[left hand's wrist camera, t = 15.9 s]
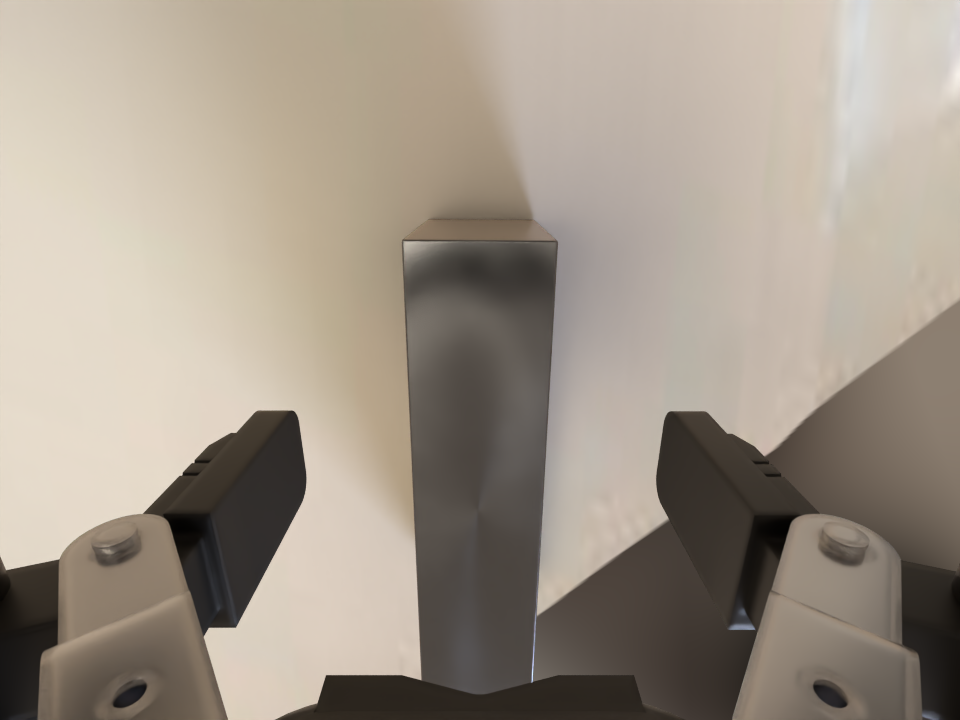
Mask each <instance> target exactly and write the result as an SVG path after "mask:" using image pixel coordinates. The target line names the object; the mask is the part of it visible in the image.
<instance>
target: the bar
mask: <svg viewBox="0 0 960 720" xmlns="http://www.w3.org/2000/svg"><path fill="white" fill-rule="evenodd" d="M557 249H558V242H557V240H556V239H554V238H553V237H552V236H551V235H550V234H549V233H548V232H547V231H546V230H545V229H544V228H542V227H541V226H540V225H539V224H538V223H537V222H536V221H535V220H482V219H428V220H427V221H426V222H425V223H423V224H422V225H421V226H419V227H418V228H417V229H416V230H414V231H413V232H412V233H411V234H409V235H408V236H407V237H406V238H404V239H403V240H402V256H403V278H404V300H405V323H406V345H407V367H408V389H409V412H410V434H411V456H412V478H413V500H414V523H415V545H416V567H417V589H418V612H419V634H420V656H421V678H422V681H425V682H429V683H433V684H437V685H441V686H445V687H448V688H452V689H456V690H460V691H464V692H468V693H472V694H488V693H492V692H496V691H500V690H504V689H508V688H512V687H515V686H519V685H523V684H527V683H531V682H533V668H534V651H535V633H536V616H537V599H538V581H539V564H540V546H541V529H542V511H543V494H544V476H545V459H546V441H547V424H548V406H549V389H550V371H551V354H552V336H553V319H554V301H555V284H556V266H557Z"/></svg>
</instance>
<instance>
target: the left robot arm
mask: <svg viewBox="0 0 960 720" xmlns="http://www.w3.org/2000/svg"><path fill="white" fill-rule="evenodd" d="M656 485H657V492H658V497H659V500H660V503H661V505H662V507H663V509H664V510H665V512H666V514H667V516H668V518H669V520H670V522H671V524H672V525H673V527H674V529H675V531H676V533H677V535H678V537H679V538H680V540H681V542H682V544H683V546H684V548H685V550H686V552H687V553H688V555H689V557H690V559H691V561H692V563H693V565H694V567H695V568H696V570H697V572H698V574H699V576H700V578H701V580H702V581H703V583H704V585H705V587H706V589H707V591H708V593H709V595H710V596H711V598H712V600H713V602H714V604H715V606H716V608H717V610H718V611H719V613H720V615H721V617H722V619H723V621H724V623H725V624H726V626H727V628H728V629H755V630H756V631H757V637H756V640H755V644H754V647H753V650H752V654H751V657H750V660H749V664H748V667H747V671H746V674H745V678H744V681H743V684H742V688H741V691H740V694H739V698H738V701H737V705H736V708H735V711H734V715H733V718H732V720H960V564H959V567H958V569H957V571H956V572H955V571H950V570H946V569H941V568H936V567H931V566H926V565H921V564H916V563H911V562H907V561H902V560H900V557H899V555H898V553H897V552H896V551H895V549H894V548H893V547H892V546H891V545H890V544H889V543H888V542H887V541H886V540H884V539H883V538H882V537H881V536H879V535H877V534H876V533H874V532H873V531H871V530H869V529H867V528H865V527H864V526H861V525H859V524H857V523H854V522H852V521H849V520H846V519H843V518H839V517H835V516H830V515H823V514H820V513H819V512H818V511H817V510H816V509H815V508H814V507H813V506H812V505H811V504H810V503H809V502H808V501H807V500H806V499H805V498H804V497H803V496H802V495H801V494H800V493H799V492H798V491H797V490H796V489H795V488H794V487H793V486H792V485H791V483H790V482H789V481H788V480H787V479H786V478H785V477H781V473H780V472H779V471H778V470H777V469H776V468H775V467H774V466H773V465H772V464H769V461H768V460H767V459H766V458H765V457H764V456H763V455H762V454H761V453H760V452H759V451H758V450H757V449H756V448H755V447H754V446H753V445H751V444H749V443H747V442H746V441H744V440H742V439H740V438H739V437H737V436H735V435H733V434H727V433H726V432H725V431H724V430H723V429H722V428H721V427H720V426H719V425H718V424H717V422H716V421H715V420H714V419H713V418H712V417H711V416H710V415H709V414H708V413H707V412H704V411H670V412H668V413H667V415H666V417H665V420H664V426H663V433H662V440H661V446H660V453H659V460H658V467H657V475H656ZM305 490H306V469H305V462H304V455H303V448H302V440H301V433H300V426H299V420H298V417H297V414H296V413H295V412H294V411H256V412H255V413H254V414H253V415H252V416H251V417H250V419H249V420H248V421H247V422H246V423H245V424H244V425H243V426H242V427H241V428H240V430H239V431H238V432H237V433H230V434H228V435H227V436H225V437H223V438H221V439H220V440H218V441H216V442H214V443H213V444H211V445H209V446H208V447H207V448H206V449H205V450H204V451H203V452H202V453H201V454H200V455H199V456H198V457H197V458H196V459H195V463H192V464H191V465H190V466H189V467H188V468H187V469H186V470H185V471H184V472H183V475H182V476H179V477H178V478H177V479H176V480H175V481H174V482H173V483H172V484H171V485H170V486H169V487H168V488H167V489H166V490H165V492H164V493H163V494H162V495H161V496H160V497H159V498H158V499H157V500H156V501H155V502H154V503H153V504H152V505H151V506H150V507H149V508H148V509H147V510H146V511H145V512H144V513H143V514H137V515H130V516H125V517H121V518H117V519H114V520H111V521H108V522H106V523H103V524H101V525H99V526H96V527H95V528H93V529H91V530H89V531H87V532H86V533H84V534H82V535H81V536H79V537H78V538H77V539H76V540H74V541H73V542H72V543H71V544H70V545H69V546H68V547H67V548H66V549H65V551H64V552H63V553H62V555H61V557H60V559H59V560H55V561H50V562H45V563H40V564H35V565H30V566H25V567H20V568H16V569H11V570H6V569H5V567H4V564H3V562H2V560H1V557H0V720H228V718H227V715H226V711H225V708H224V705H223V701H222V698H221V694H220V691H219V688H218V684H217V681H216V677H215V674H214V671H213V667H212V664H211V660H210V657H209V654H208V650H207V647H206V644H205V640H204V635H205V633H206V632H207V630H208V628H236V626H237V624H238V623H239V621H240V619H241V617H242V615H243V613H244V611H245V609H246V607H247V606H248V604H249V602H250V600H251V598H252V596H253V594H254V592H255V590H256V589H257V587H258V585H259V583H260V581H261V579H262V577H263V575H264V573H265V571H266V570H267V568H268V566H269V564H270V562H271V560H272V558H273V556H274V554H275V553H276V551H277V549H278V547H279V545H280V543H281V541H282V539H283V537H284V536H285V534H286V532H287V530H288V528H289V526H290V524H291V522H292V520H293V518H294V517H295V515H296V513H297V511H298V509H299V507H300V505H301V503H302V501H303V498H304V495H305ZM276 720H684V719H682V718H680V717H678V716H676V715H674V714H672V713H669V712H667V711H664V710H661V709H659V708H656V707H653V706H650V705H646V704H643V703H642V701H641V697H640V694H639V691H638V687H637V684H636V681H635V677H634V675H558V676H554V677H550V678H546V679H542V680H538V681H535V682H531V683H527V684H523V685H519V686H515V687H512V688H508V689H504V690H500V691H496V692H492V693H488V694H472V693H468V692H464V691H460V690H456V689H452V688H448V687H445V686H441V685H437V684H433V683H429V682H425V681H422V680H418V679H414V678H410V677H406V676H402V675H326V677H325V681H324V684H323V687H322V691H321V694H320V697H319V701H318V703H317V704H314V705H310V706H307V707H304V708H301V709H299V710H296V711H293V712H291V713H288V714H286V715H284V716H282V717H280V718H278V719H276Z"/></svg>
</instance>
